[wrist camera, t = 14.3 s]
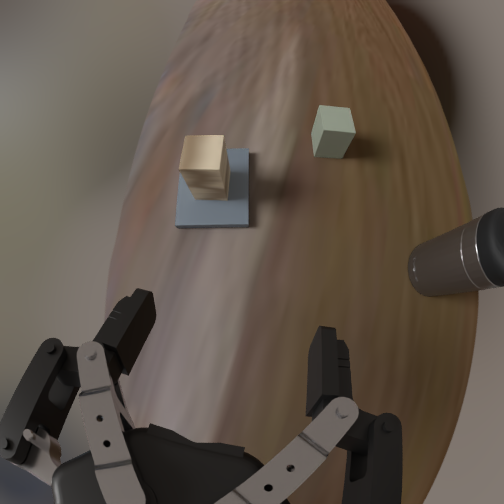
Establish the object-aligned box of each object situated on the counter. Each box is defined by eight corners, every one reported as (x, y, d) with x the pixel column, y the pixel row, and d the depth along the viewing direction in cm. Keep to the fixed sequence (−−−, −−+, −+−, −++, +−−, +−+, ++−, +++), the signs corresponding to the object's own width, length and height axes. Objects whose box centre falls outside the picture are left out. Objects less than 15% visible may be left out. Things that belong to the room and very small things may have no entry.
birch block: (230, 171, 42) (223, 135, 33) (227, 200, 41) (219, 169, 32) (199, 170, 42) (185, 135, 33) (195, 199, 42) (178, 169, 32)
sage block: (337, 135, 45) (349, 108, 37) (341, 158, 44) (355, 133, 36) (311, 133, 45) (319, 105, 38) (314, 156, 44) (323, 130, 37)
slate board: (248, 153, 45) (248, 148, 43) (248, 227, 42) (248, 224, 41) (184, 155, 45) (182, 151, 43) (177, 228, 42) (175, 225, 41)
